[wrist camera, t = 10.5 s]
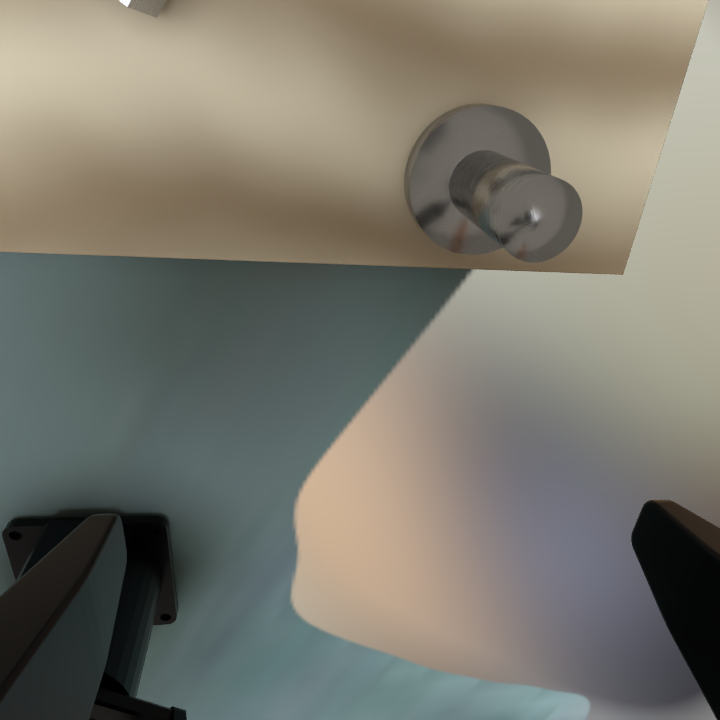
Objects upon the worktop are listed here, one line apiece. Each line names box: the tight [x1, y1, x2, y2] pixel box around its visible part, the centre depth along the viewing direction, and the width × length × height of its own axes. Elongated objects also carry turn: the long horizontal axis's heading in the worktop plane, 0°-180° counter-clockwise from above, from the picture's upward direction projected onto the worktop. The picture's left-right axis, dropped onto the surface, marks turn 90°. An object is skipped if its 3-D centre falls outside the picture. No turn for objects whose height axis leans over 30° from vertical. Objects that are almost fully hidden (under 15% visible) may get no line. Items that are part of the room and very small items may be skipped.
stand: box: [404, 104, 583, 263], centre depth 15 cm, size 4×4×6 cm
